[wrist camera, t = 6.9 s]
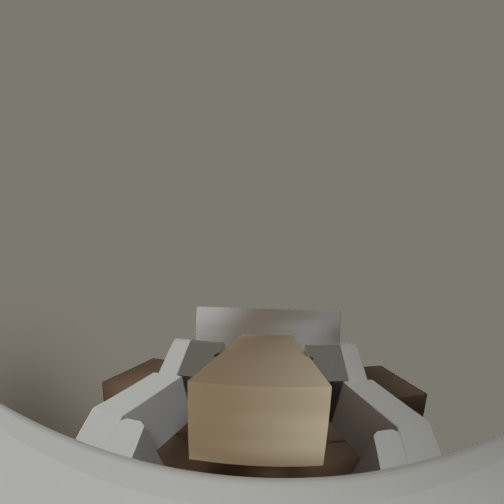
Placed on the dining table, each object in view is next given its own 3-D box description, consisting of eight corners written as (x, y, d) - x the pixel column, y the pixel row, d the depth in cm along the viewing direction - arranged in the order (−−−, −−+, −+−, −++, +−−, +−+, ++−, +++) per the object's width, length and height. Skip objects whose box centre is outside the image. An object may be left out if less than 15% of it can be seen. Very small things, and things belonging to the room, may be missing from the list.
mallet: (318, 367, 19) (321, 309, 20) (420, 492, 4) (450, 310, 4) (216, 363, 19) (218, 307, 20) (92, 476, 4) (78, 300, 5)
